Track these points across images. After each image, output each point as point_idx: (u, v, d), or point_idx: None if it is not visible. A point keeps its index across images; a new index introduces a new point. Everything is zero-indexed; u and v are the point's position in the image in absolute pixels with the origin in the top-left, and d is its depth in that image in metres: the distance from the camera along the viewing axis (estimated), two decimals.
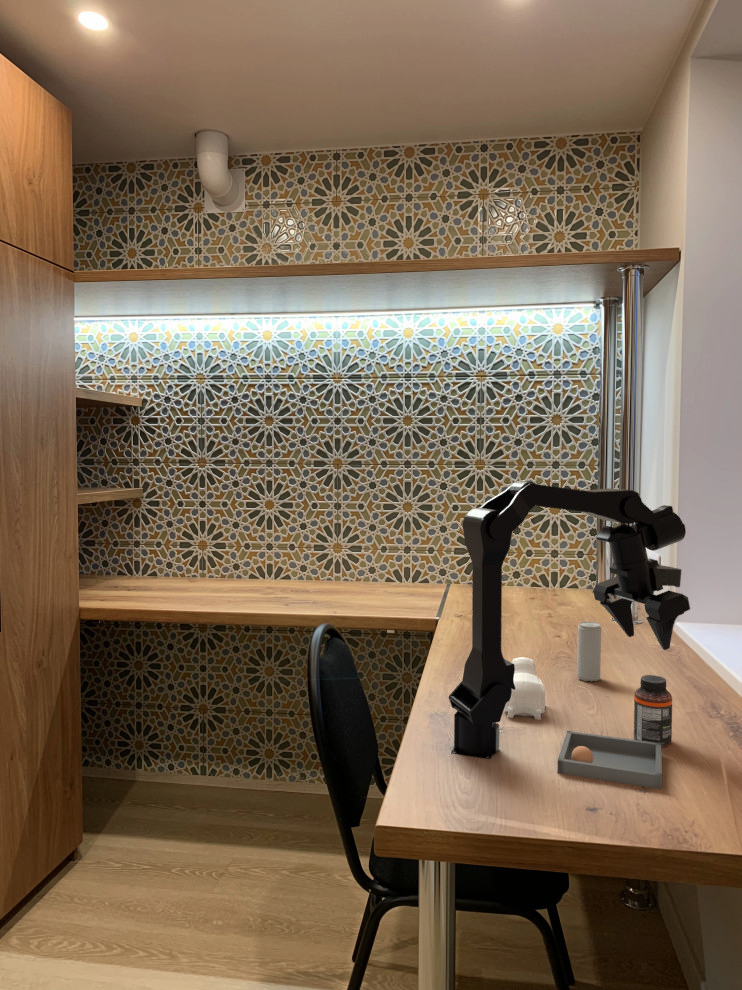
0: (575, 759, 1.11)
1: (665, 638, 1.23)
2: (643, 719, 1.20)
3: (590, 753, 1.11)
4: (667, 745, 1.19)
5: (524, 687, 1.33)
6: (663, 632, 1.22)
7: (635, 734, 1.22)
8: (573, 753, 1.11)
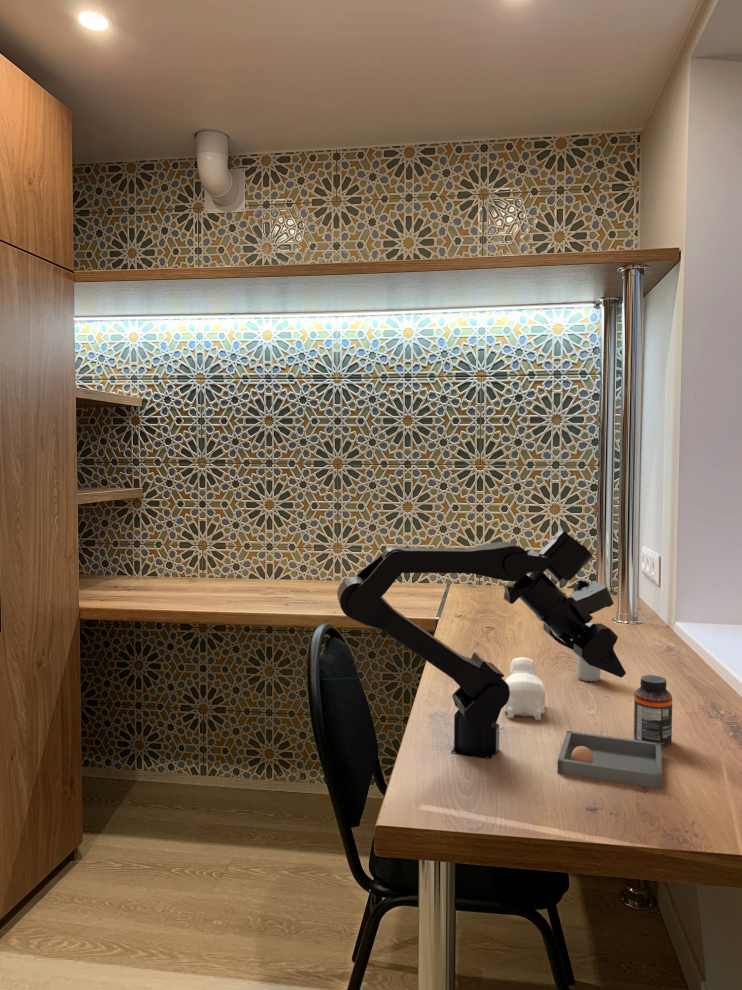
0: (575, 759, 1.11)
1: (614, 668, 1.15)
2: (643, 719, 1.20)
3: (590, 753, 1.11)
4: (667, 745, 1.19)
5: (524, 687, 1.33)
6: (608, 665, 1.14)
7: (635, 734, 1.22)
8: (573, 753, 1.11)
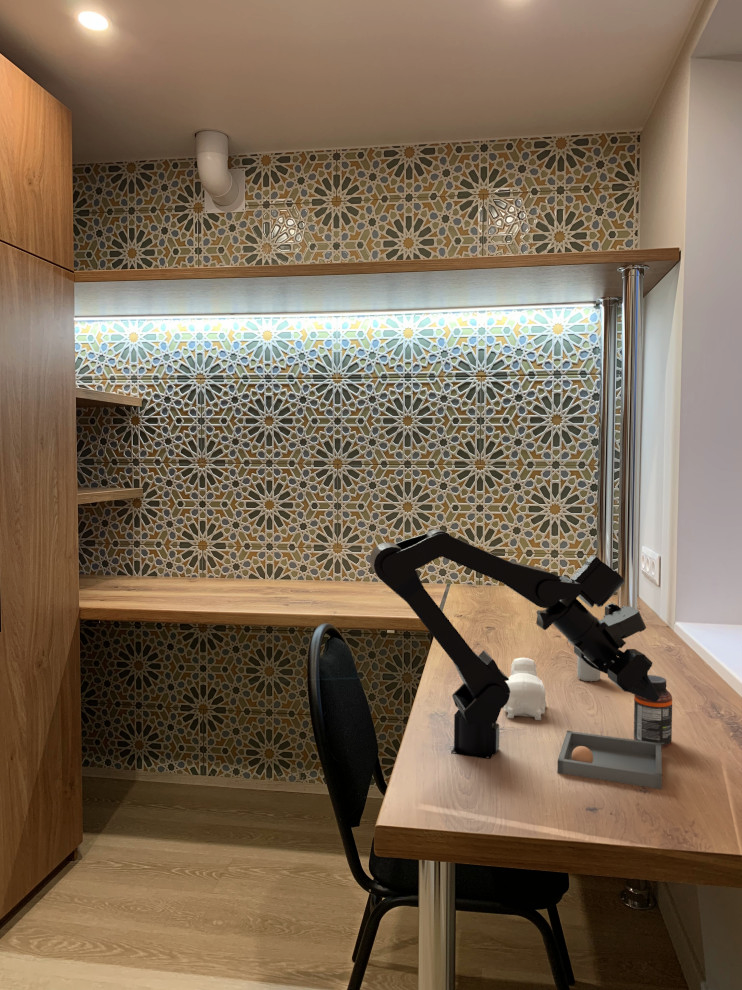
0: (575, 759, 1.11)
1: (648, 693, 1.16)
2: (643, 719, 1.20)
3: (590, 753, 1.11)
4: (667, 745, 1.19)
5: (524, 688, 1.33)
6: (642, 690, 1.15)
7: (635, 734, 1.22)
8: (573, 753, 1.11)
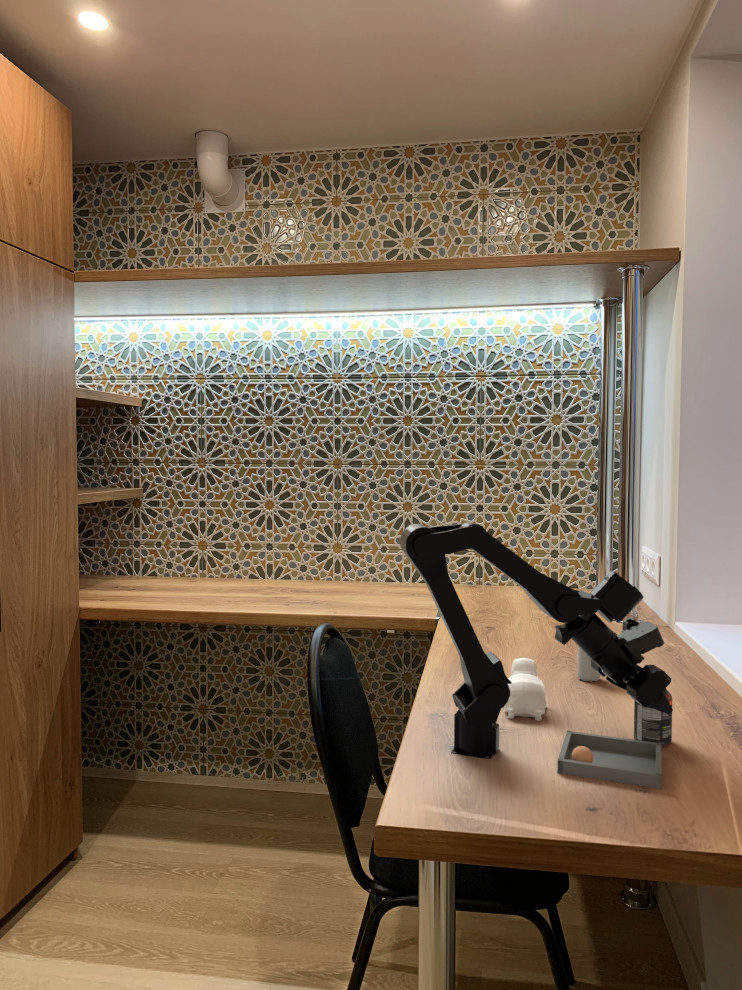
0: (575, 759, 1.11)
1: (662, 706, 1.17)
2: (643, 718, 1.20)
3: (590, 753, 1.11)
4: (667, 745, 1.19)
5: (524, 688, 1.33)
6: (656, 703, 1.17)
7: (635, 734, 1.22)
8: (573, 753, 1.11)
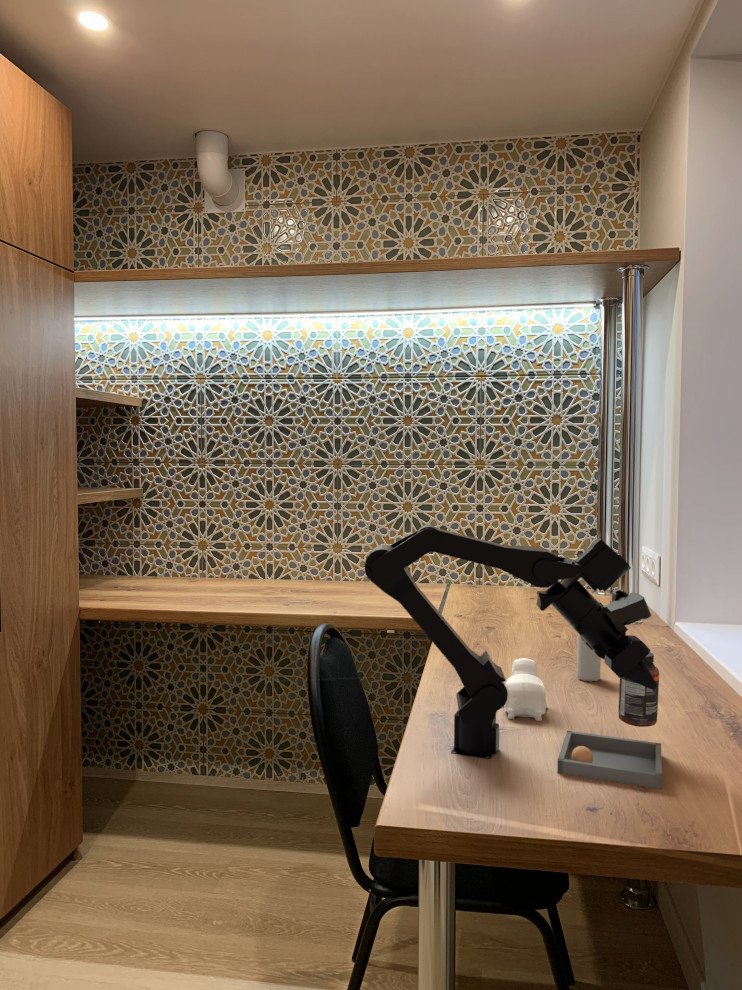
0: (575, 759, 1.11)
1: (644, 680, 1.13)
2: (626, 693, 1.15)
3: (590, 753, 1.11)
4: (651, 722, 1.14)
5: (525, 688, 1.33)
6: (638, 676, 1.12)
7: (619, 709, 1.17)
8: (573, 753, 1.11)
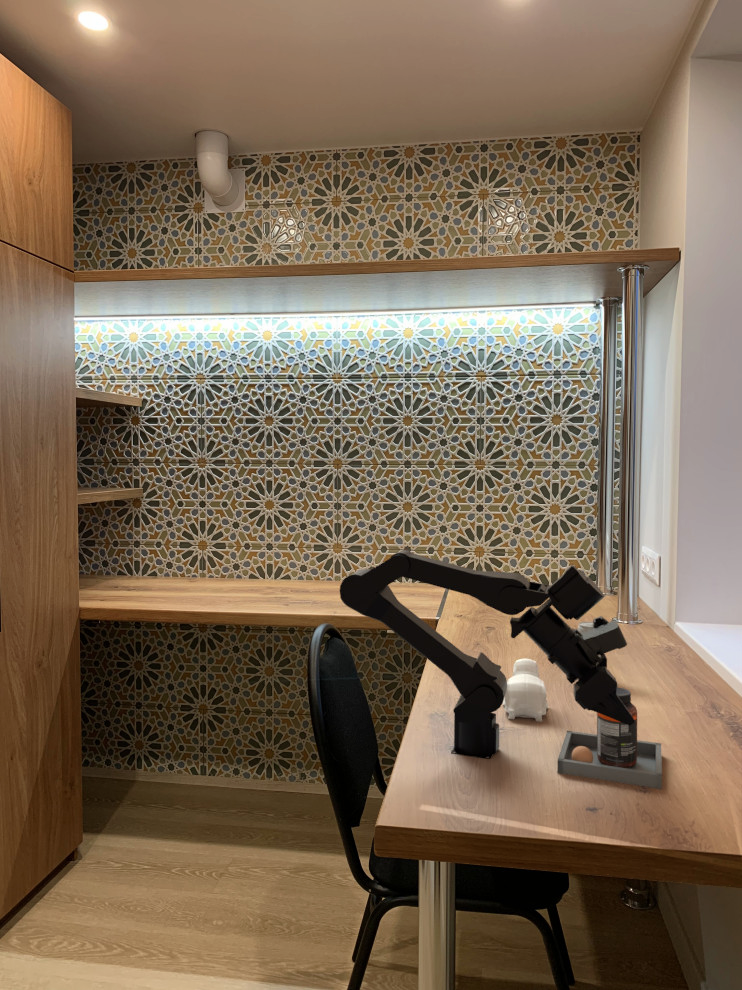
0: (575, 759, 1.11)
1: (620, 715, 1.08)
2: (601, 733, 1.12)
3: (590, 753, 1.11)
4: (627, 764, 1.11)
5: (525, 689, 1.33)
6: (612, 711, 1.08)
7: (597, 748, 1.14)
8: (573, 753, 1.11)
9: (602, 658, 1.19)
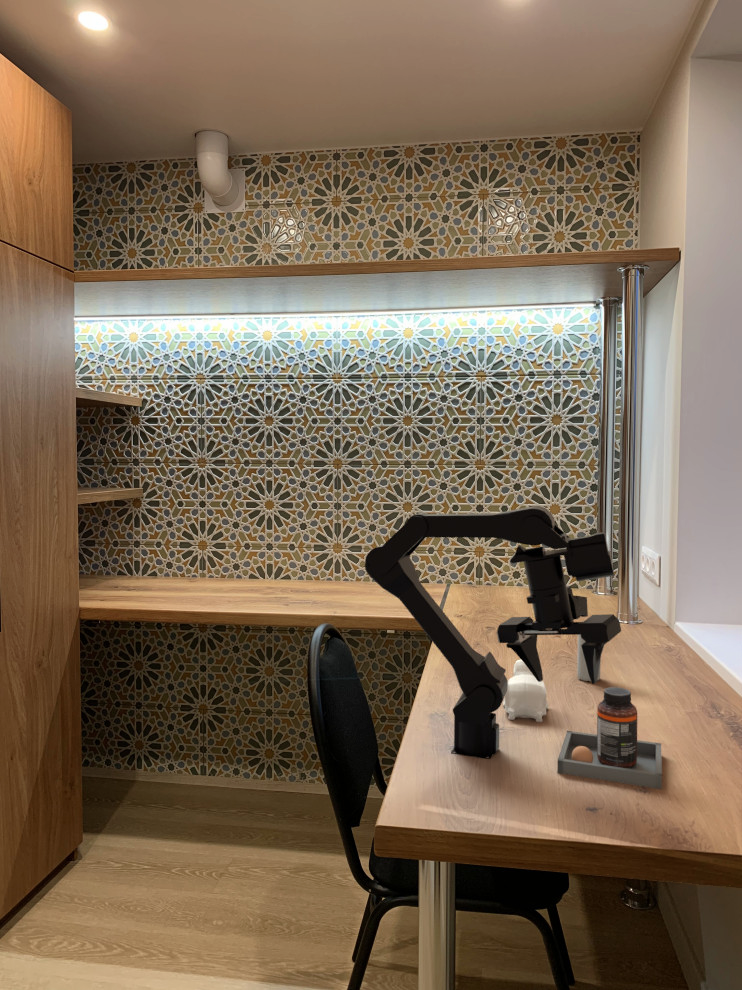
0: (575, 759, 1.11)
1: (596, 669, 1.11)
2: (601, 732, 1.12)
3: (590, 753, 1.11)
4: (627, 764, 1.11)
5: (525, 689, 1.32)
6: (595, 661, 1.10)
7: (597, 749, 1.14)
8: (573, 753, 1.11)
9: None
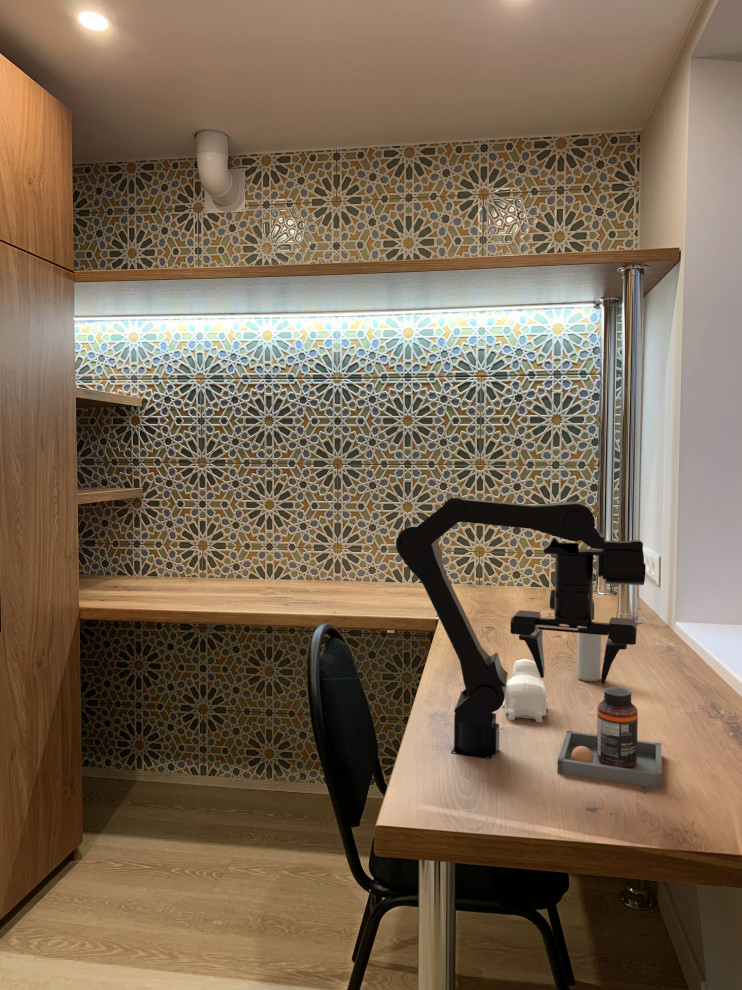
0: (575, 759, 1.11)
1: None
2: (601, 732, 1.12)
3: (590, 753, 1.11)
4: (627, 764, 1.11)
5: (525, 689, 1.32)
6: None
7: (597, 748, 1.14)
8: (573, 753, 1.11)
9: None
